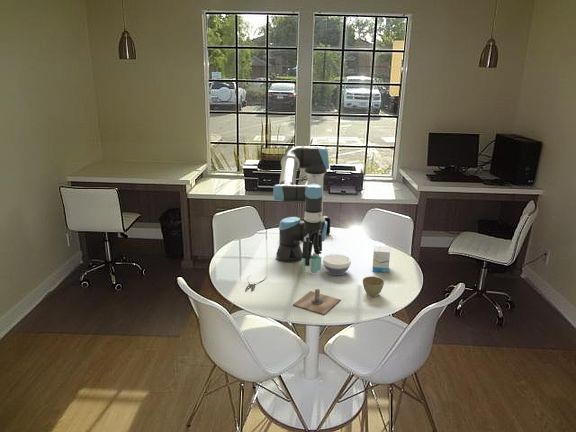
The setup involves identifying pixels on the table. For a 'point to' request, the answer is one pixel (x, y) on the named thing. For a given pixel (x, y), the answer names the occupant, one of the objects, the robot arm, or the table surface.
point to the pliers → (251, 286)
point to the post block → (317, 302)
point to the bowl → (336, 264)
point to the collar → (314, 264)
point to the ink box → (381, 259)
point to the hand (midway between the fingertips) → (312, 269)
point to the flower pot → (373, 285)
